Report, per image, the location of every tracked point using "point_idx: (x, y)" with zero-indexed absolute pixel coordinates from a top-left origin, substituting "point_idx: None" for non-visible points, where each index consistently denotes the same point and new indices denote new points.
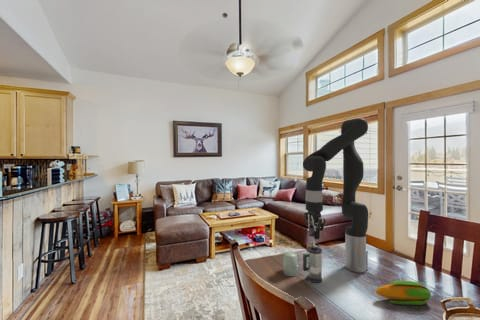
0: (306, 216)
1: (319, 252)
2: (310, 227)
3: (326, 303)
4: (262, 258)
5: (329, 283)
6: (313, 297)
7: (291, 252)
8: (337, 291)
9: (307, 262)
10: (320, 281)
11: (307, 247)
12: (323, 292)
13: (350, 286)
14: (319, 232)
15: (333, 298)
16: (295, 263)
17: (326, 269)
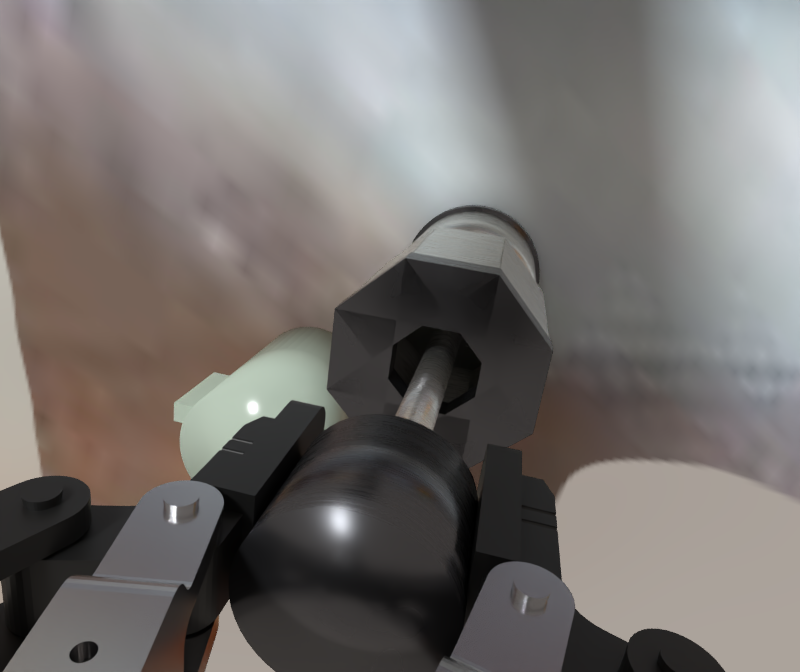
0: None
1: (546, 371)
2: (274, 658)
3: (764, 422)
4: (46, 426)
5: (582, 194)
6: (658, 449)
7: (205, 412)
8: (707, 226)
9: None
10: (538, 264)
11: (353, 415)
12: (653, 341)
13: (723, 38)
14: (560, 575)
15: (754, 332)
16: (333, 414)
17: (375, 18)
